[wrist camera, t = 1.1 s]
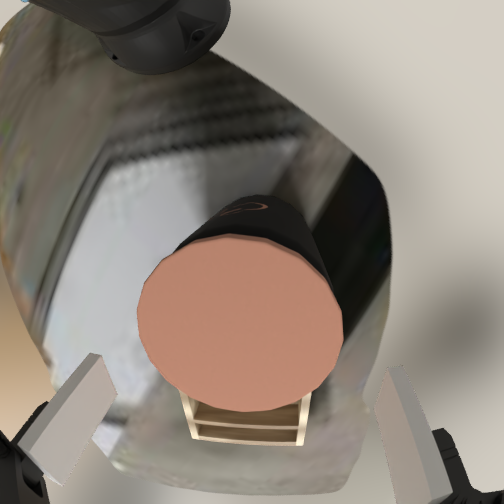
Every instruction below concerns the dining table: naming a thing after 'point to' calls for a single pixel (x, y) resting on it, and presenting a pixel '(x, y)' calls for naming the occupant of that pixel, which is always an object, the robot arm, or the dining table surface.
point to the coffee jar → (243, 310)
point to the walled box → (248, 423)
